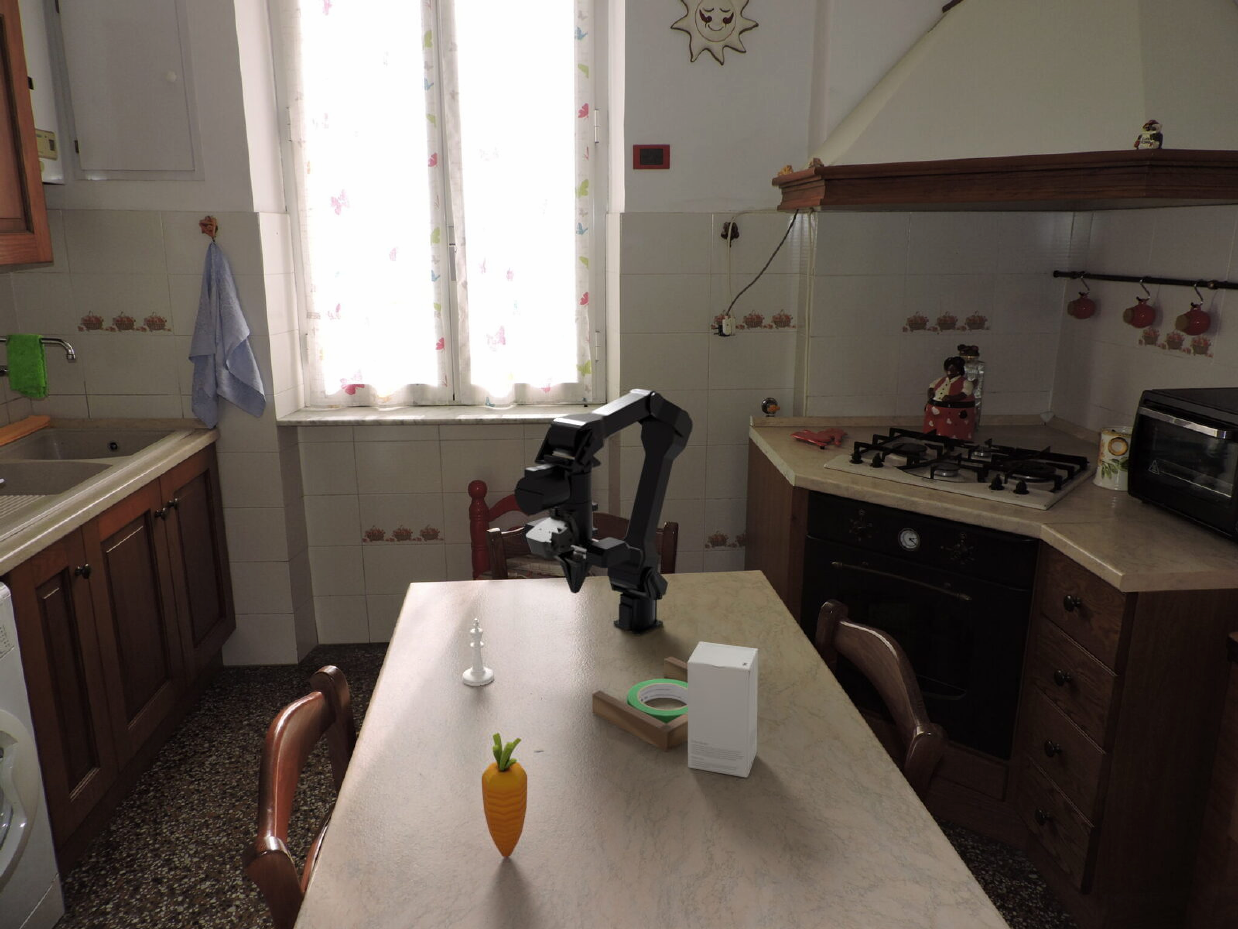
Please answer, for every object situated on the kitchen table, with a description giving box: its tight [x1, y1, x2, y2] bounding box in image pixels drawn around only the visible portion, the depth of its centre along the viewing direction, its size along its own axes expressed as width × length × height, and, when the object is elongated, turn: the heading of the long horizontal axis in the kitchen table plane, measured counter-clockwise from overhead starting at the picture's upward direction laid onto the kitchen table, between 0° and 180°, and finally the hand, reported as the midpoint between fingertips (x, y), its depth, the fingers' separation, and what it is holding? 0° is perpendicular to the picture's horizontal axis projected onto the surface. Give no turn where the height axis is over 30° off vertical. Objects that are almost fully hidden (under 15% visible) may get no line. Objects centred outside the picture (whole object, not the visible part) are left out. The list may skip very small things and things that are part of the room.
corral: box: [591, 656, 688, 753], centre depth 134 cm, size 17×14×3 cm
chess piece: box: [461, 618, 495, 687], centre depth 142 cm, size 5×5×10 cm
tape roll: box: [626, 678, 688, 724], centre depth 134 cm, size 11×11×3 cm
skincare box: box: [686, 641, 759, 778], centre depth 120 cm, size 8×7×16 cm
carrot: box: [481, 732, 528, 859], centre depth 101 cm, size 5×5×15 cm
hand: (575, 592), depth 146 cm, fingers closed
